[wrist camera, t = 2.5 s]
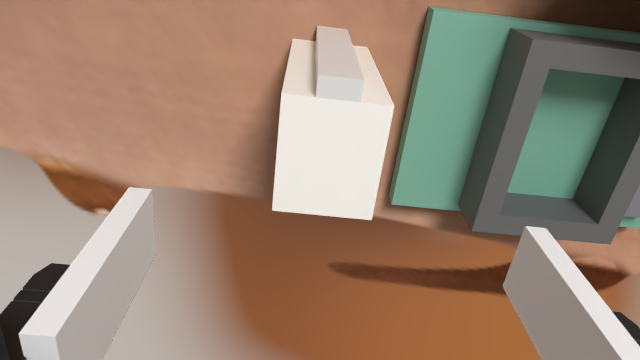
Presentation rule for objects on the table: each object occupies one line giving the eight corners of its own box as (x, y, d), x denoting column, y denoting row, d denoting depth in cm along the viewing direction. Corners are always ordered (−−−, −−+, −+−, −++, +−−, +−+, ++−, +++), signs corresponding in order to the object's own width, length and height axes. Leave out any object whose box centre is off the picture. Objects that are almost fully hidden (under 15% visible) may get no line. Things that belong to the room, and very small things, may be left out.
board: (388, 194, 37) (398, 230, 32) (428, 6, 30) (448, 19, 26) (632, 218, 38) (674, 256, 33) (720, 42, 31) (787, 60, 27)
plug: (285, 123, 34) (271, 210, 23) (294, 22, 31) (283, 70, 20) (353, 130, 34) (371, 219, 23) (369, 31, 31) (398, 83, 20)
